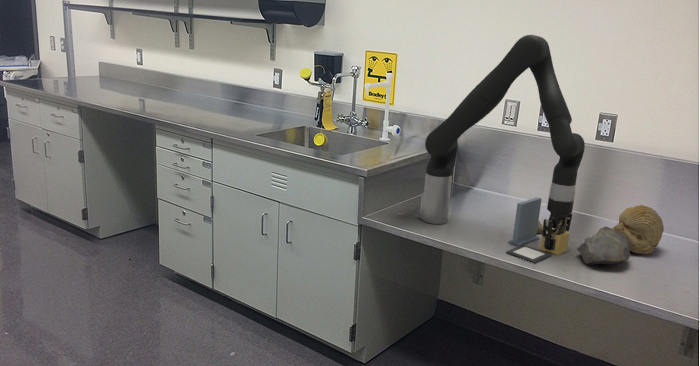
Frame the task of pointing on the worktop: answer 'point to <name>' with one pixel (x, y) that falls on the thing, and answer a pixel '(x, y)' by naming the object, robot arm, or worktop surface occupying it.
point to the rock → (539, 228)
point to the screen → (526, 222)
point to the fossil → (641, 228)
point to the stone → (605, 247)
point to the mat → (528, 254)
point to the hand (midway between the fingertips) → (553, 246)
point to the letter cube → (557, 242)
